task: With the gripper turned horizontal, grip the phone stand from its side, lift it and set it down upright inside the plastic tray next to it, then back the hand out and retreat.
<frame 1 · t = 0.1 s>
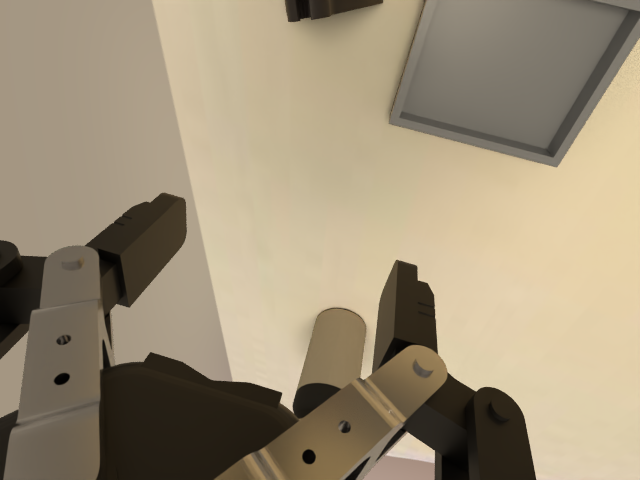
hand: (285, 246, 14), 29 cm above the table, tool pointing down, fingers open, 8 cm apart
travel mug: (341, 324, 59), on the table
tray: (499, 64, 34), on the table
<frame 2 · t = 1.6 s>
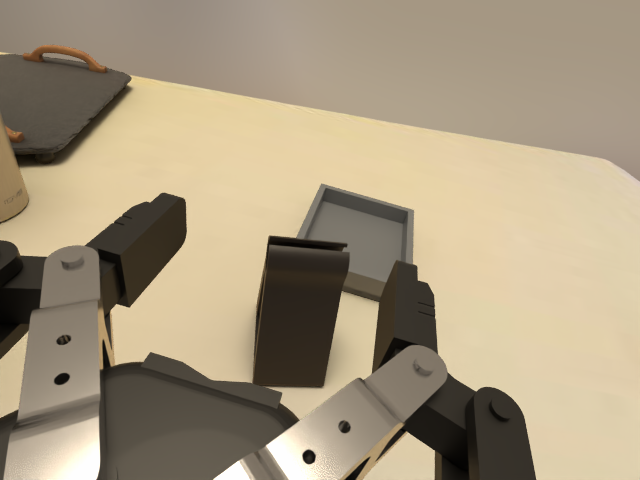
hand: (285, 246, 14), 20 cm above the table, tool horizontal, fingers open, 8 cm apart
phone stand: (286, 343, 35), on the table
serving board: (29, 111, 60), on the table
tray: (353, 247, 48), on the table
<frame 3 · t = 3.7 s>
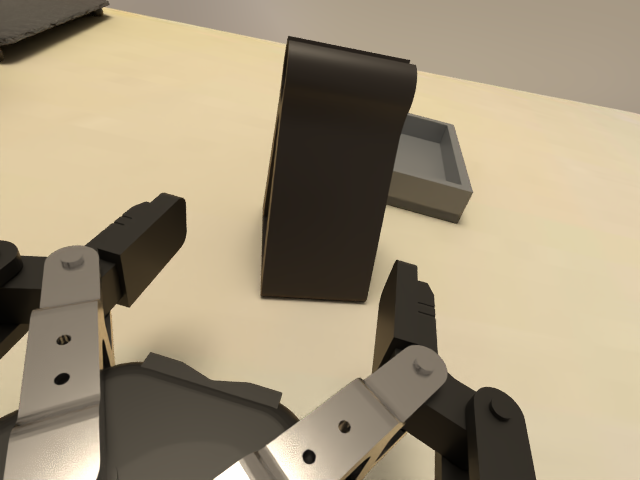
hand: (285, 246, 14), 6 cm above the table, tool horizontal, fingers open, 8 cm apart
phone stand: (307, 252, 24), on the table
tray: (383, 162, 38), on the table
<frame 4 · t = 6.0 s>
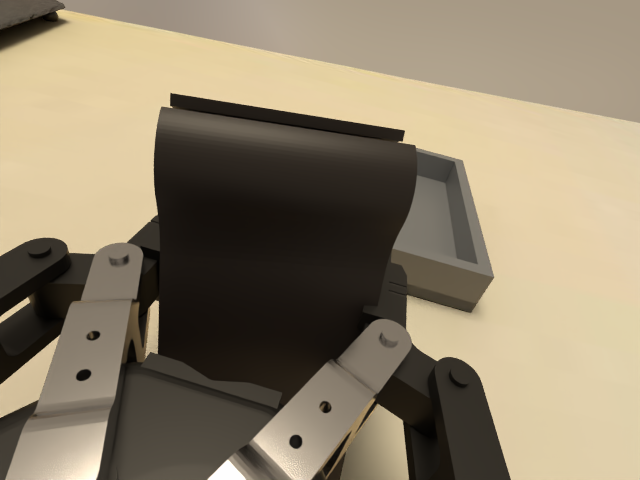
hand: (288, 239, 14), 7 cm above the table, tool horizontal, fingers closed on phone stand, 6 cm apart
phone stand: (253, 389, 16), on the table, touching gripper
tray: (374, 213, 30), on the table
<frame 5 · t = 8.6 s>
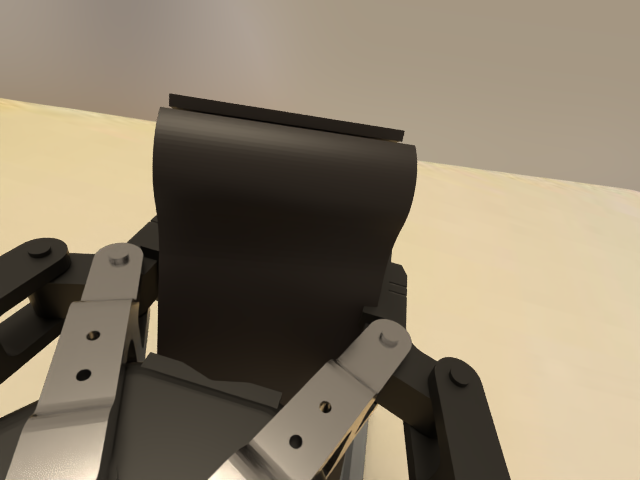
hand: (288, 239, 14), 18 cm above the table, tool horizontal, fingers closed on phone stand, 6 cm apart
phone stand: (252, 390, 16), point 11 cm above the table, touching gripper
tray: (253, 448, 25), on the table
when the fingers open (8 cm above the table, at t = 11.5 s): phone stand moves 1 cm, resting on tray.
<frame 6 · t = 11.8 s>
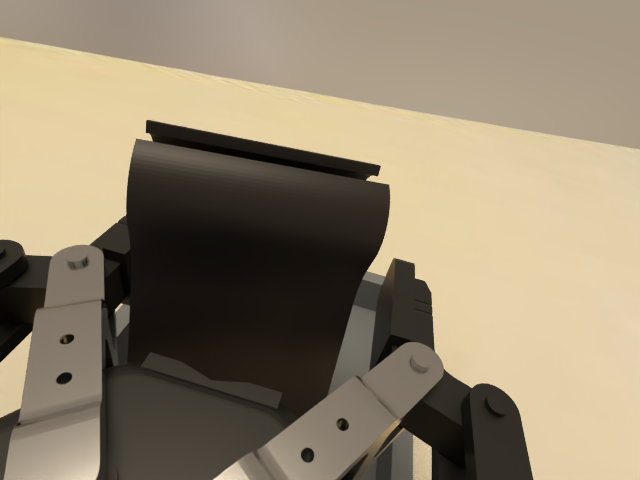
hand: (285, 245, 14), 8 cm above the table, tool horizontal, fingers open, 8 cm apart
phone stand: (222, 393, 17), point 1 cm above the table, touching gripper, tray
tray: (250, 407, 17), on the table
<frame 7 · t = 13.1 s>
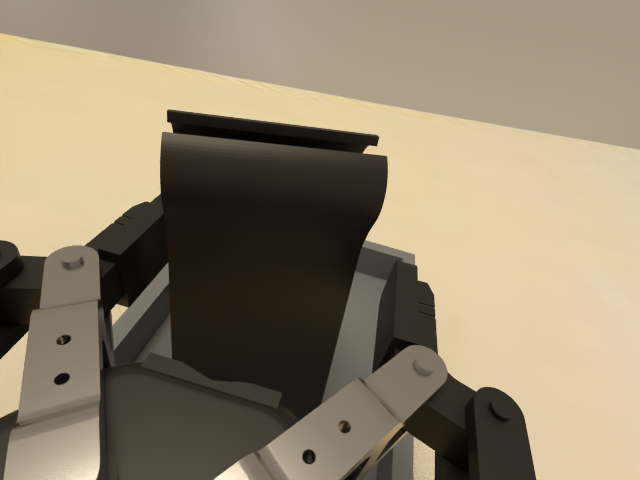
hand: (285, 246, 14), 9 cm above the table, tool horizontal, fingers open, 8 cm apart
phone stand: (246, 336, 19), point 1 cm above the table, touching tray
tray: (275, 350, 20), on the table
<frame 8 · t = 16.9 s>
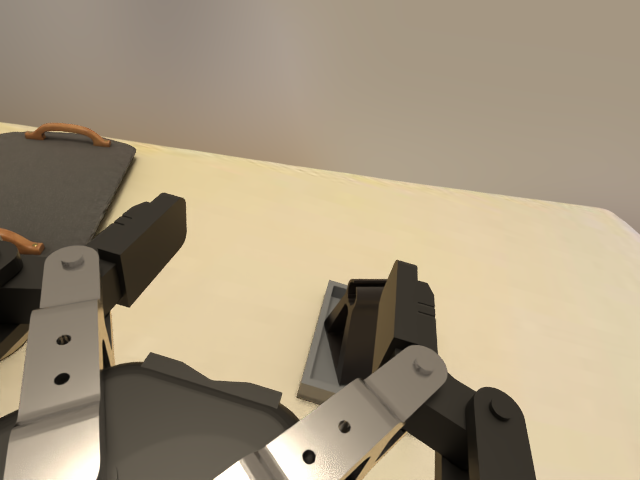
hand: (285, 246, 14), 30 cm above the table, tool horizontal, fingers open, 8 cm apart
phone stand: (353, 352, 47), point 1 cm above the table, touching tray
serving board: (38, 200, 59), on the table
tray: (363, 354, 47), on the table
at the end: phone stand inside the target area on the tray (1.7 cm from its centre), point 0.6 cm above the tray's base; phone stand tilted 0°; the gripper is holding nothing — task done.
